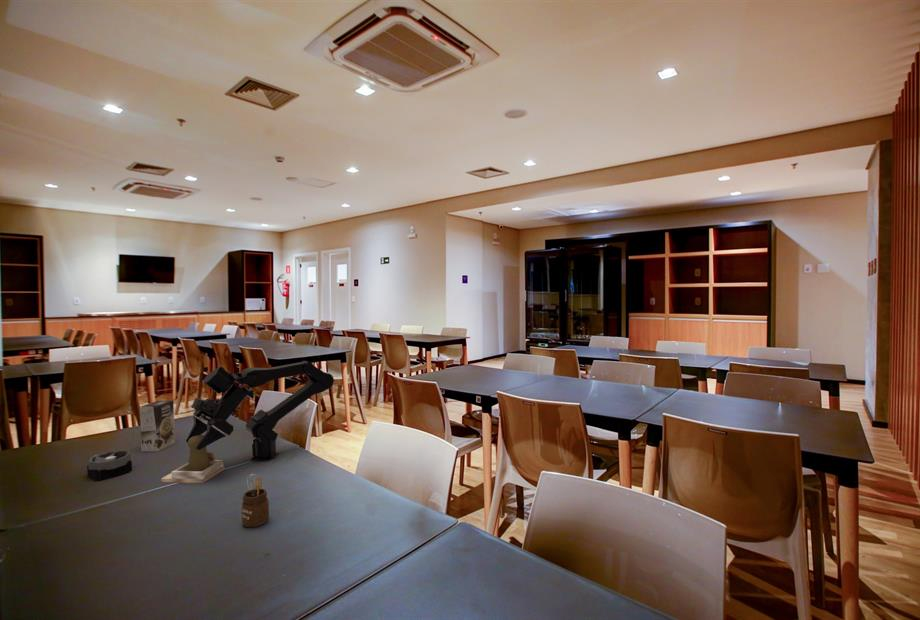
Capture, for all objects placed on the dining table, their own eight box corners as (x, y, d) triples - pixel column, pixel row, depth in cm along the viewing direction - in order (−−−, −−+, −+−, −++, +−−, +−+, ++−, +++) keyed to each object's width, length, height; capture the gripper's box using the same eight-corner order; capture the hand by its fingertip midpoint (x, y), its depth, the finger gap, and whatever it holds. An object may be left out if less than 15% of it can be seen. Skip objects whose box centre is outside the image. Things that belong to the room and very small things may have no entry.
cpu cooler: (135, 454, 136) (94, 464, 128) (136, 472, 136) (95, 484, 128) (123, 447, 142) (83, 457, 134) (123, 464, 142) (84, 475, 134)
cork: (214, 468, 136) (213, 433, 135) (201, 476, 130) (200, 439, 129) (196, 467, 136) (195, 432, 136) (182, 475, 130) (181, 439, 130)
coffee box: (158, 451, 153) (156, 406, 153) (140, 451, 153) (138, 406, 153) (176, 442, 162) (174, 399, 162) (158, 442, 163) (157, 399, 162)
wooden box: (224, 469, 137) (223, 451, 137) (202, 483, 127) (202, 464, 127) (185, 468, 138) (184, 451, 138) (161, 481, 128) (160, 463, 128)
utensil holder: (263, 512, 110) (262, 465, 109) (273, 521, 105) (272, 472, 105) (238, 521, 106) (236, 472, 105) (247, 531, 101) (245, 480, 101)
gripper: (199, 383, 141) (160, 425, 133) (220, 391, 128) (179, 438, 121) (226, 402, 147) (190, 443, 139) (249, 412, 134) (211, 458, 127)
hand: (192, 445), depth 131 cm, fingers open, 9 cm apart
